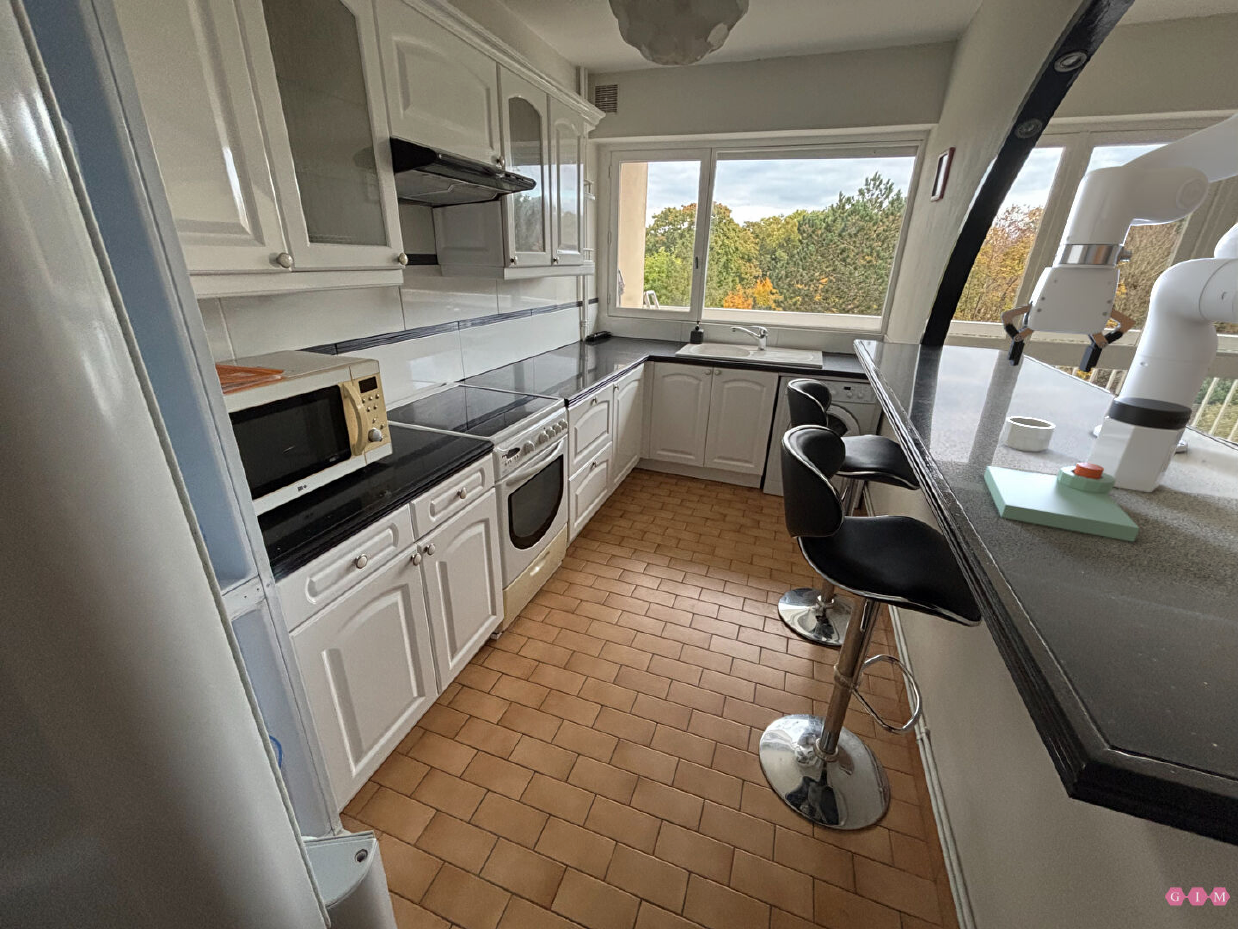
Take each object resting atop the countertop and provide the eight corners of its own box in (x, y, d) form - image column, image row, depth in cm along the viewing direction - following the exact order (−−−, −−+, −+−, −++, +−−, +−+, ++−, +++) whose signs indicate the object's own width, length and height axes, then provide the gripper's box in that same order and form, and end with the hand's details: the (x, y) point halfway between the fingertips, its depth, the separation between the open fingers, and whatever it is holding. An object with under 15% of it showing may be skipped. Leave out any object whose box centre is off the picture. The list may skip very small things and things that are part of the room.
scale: (982, 475, 78) (989, 453, 77) (1097, 493, 72) (1106, 470, 71) (1001, 517, 65) (1009, 493, 64) (1143, 544, 59) (1155, 517, 58)
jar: (1147, 497, 71) (1184, 415, 67) (1075, 477, 78) (1105, 401, 73) (1165, 483, 76) (1201, 406, 71) (1096, 466, 82) (1124, 394, 78)
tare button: (1070, 471, 72) (1074, 460, 71) (1096, 474, 71) (1100, 464, 70) (1076, 478, 69) (1080, 467, 69) (1103, 482, 68) (1107, 471, 68)
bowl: (996, 437, 95) (1003, 414, 93) (1041, 443, 92) (1049, 420, 91) (1003, 448, 89) (1010, 424, 88) (1050, 455, 87) (1059, 430, 85)
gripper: (1148, 260, 78) (1105, 370, 85) (1013, 257, 85) (983, 359, 92) (1170, 259, 72) (1122, 378, 79) (1023, 256, 79) (990, 365, 86)
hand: (1047, 367), depth 85 cm, fingers open, 9 cm apart
